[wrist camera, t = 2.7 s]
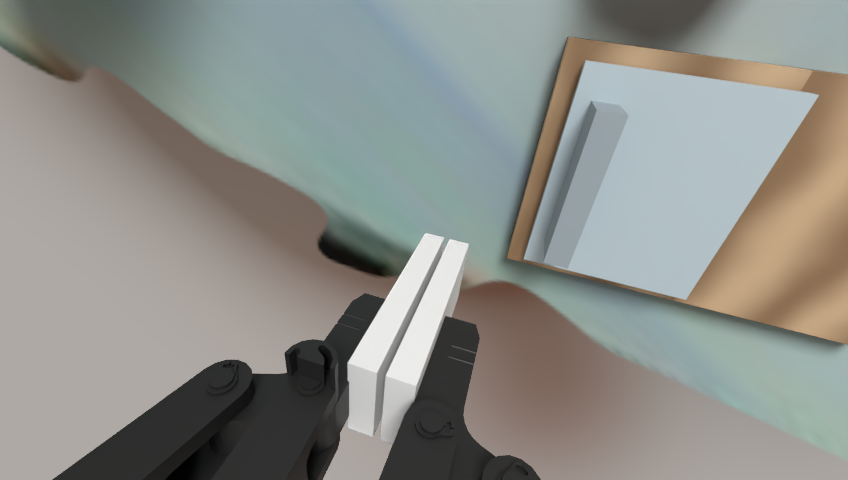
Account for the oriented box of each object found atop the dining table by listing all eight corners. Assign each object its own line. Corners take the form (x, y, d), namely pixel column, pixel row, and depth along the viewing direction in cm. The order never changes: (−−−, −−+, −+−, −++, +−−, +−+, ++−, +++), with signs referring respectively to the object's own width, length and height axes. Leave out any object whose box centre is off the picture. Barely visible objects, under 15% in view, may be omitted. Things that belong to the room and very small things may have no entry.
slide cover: (524, 253, 29) (521, 281, 26) (584, 59, 22) (590, 65, 19) (682, 293, 27) (699, 328, 24) (810, 92, 19) (859, 106, 16)
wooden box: (509, 246, 32) (506, 258, 30) (567, 36, 23) (569, 37, 22) (861, 332, 27) (881, 353, 25) (1099, 108, 18) (1153, 116, 17)
